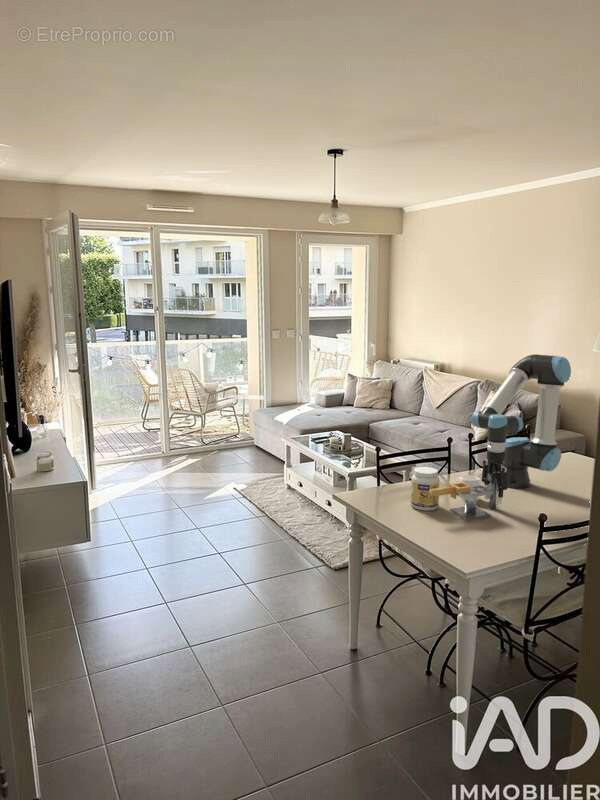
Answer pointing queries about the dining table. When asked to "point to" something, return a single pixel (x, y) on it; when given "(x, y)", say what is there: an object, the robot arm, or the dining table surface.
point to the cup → (469, 481)
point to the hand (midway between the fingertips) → (493, 501)
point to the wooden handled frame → (450, 490)
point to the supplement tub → (424, 488)
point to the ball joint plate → (472, 502)
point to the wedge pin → (492, 487)
